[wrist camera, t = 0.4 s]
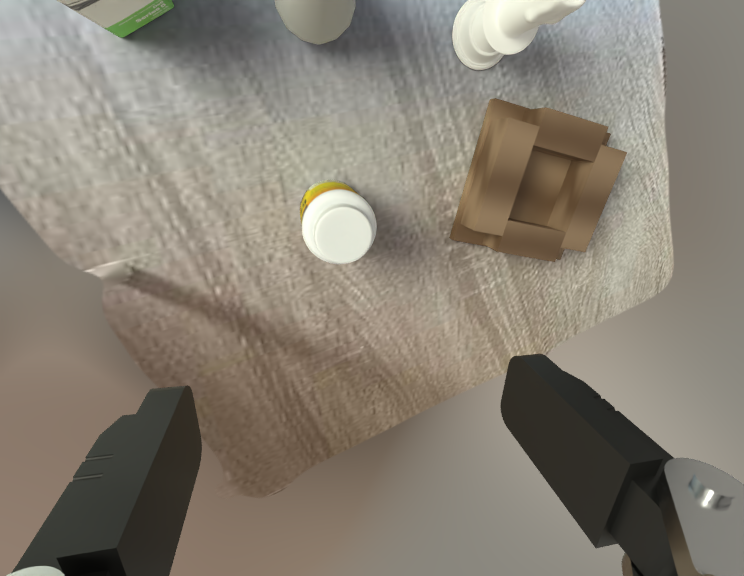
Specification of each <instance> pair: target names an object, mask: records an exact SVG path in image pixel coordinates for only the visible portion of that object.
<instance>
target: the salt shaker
mask: <svg viewBox="0 0 744 576" xmlns="http://www.w3.org/2000/svg"><path fill="white" fill-rule="evenodd" d="M275 6H276V9H277V11H278V13H279V14H280V16H281V18H282V20H283V22H284V24H285V25H286V27H287V29H289V30H290V31H291V32H292V33H294V34H295V35H296V36H297V37H298V38H300V39H301V40H302V41H306V42H310V43H314V44H318V45H321V44H324V43H327V42H330V41H333V40H336V39H337V38H338V37H339V36H340V35H341V34H342V33H343V32H344V31H345V30H346V29H347V28H348V27H349V26H350V23H351V20H352V17H353V13H354V10H355V7H356V3H355V0H275Z"/></svg>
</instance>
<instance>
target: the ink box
mask: <svg viewBox="0 0 744 576" xmlns="http://www.w3.org/2000/svg"><path fill="white" fill-rule="evenodd" d="M57 1H59V2H61V3H62V4H64V5H66V6H68V7H69V8H71V9H72V10H74V11H76V12H77V13H79V14H81V15H83V16H84V17H86V18H88V19H89V20H91V21H93V22H95V23H96V24H98V25H100V26H101V27H103V28H105V29H106V30H108V31H110V32H111V33H113V34H115V35H116V36H118V37H121V38H122V37H125V36H127V35H128V34H130V33H132V32H134V31H135V30H137V29H139V28H140V27H142V26H144V25H145V24H147V23H149V22H151V21H152V20H154V19H155V18H157V17H159V16H161V15H162V14H164V13H165V12H167V11H169V10H170V9H172V8H173V7H174V4H173V2H172V0H57Z"/></svg>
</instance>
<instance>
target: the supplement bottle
mask: <svg viewBox="0 0 744 576" xmlns="http://www.w3.org/2000/svg"><path fill="white" fill-rule="evenodd" d="M300 217H301V226H302V234H303V238H304V240H305V243H306V245H307V247H308V248H309V249H310V251H311V252H312V253H313V254H314V255H315V256H317V257H318V258H319V259H321V260H323V261H325V262H328V263H332V264H346V263H351V262H354V261H356V260H358V259H360V258H361V257H362V256H363V255H364V254H365V253H366V252H367V251H368V250H369V249H370V247H371V245H372V244H373V241H374V239H375V236H376V229H377V224H376V218H375V215H374V212H373V210H372V208H371V206H370V205H369V204H368V202H367V201H366V200H365V199H364V198H362V197H361V196H360V195H359V194H358V193H356V192H355V191H354V190H353V189H351V188H350V187H349V186H348V185H346V184H345V183H343V182H340V181H336V180H323V181H320V182H317V183H315V184H314V185H312V186H311V187H310V188H309V189H308V190H307V191H306V192H305V194H304V196H303V198H302V201H301V204H300Z"/></svg>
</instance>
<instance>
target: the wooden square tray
mask: <svg viewBox="0 0 744 576" xmlns="http://www.w3.org/2000/svg"><path fill="white" fill-rule="evenodd" d="M607 129H608V127H607V126H604V125H601V124H598V123H594V122H591V121H588V120H585V119H582V118H578V117H575V116H572V115H569V114H566V113H563V112H559V111H556V110H553V109H550V108H547V107H546V108H538V109H528V108H525V107H522V106H519V105H515V104H512V103H509V102H506V101H502V100H499V99H496V98H495V99H490V101H489V105H488V108H487V112H486V115H485V118H484V122H483V125H482V129H481V132H480V135H479V139H478V142H477V146H476V149H475V152H474V156H473V159H472V163H471V166H470V170H469V173H468V176H467V180H466V183H465V187H464V190H463V193H462V197H461V200H460V204H459V207H458V211H457V214H456V217H455V221H454V224H453V228H452V231H451V234H450V238H451V239H452V240H455V241H461V242H466V243H472V244H477V245H482V246H488V247H490V248H492V249H493V250H495V251H497V252H503V253H508V254H514V255H519V256H525V257H530V258H536V259H541V260H547V261H552V262H555V260H556V259H559V260H560V259H561V256H562V254H563V251H564V249H565V248H566V249H571V250H576V251H581V252H585V251H586V249H587V246H588V244H589V242H590V239H591V237H592V235H593V232H594V230H595V227H596V225H597V223H598V220H599V218H600V216H601V213H602V211H603V208H604V206H605V204H606V201H607V199H608V197H609V194H610V192H611V190H612V187H613V185H614V182H615V180H616V178H617V175H618V173H619V171H620V168H621V166H622V164H623V161H624V159H625V156H626V154H627V152H624V151H621V150H617V149H614V148H611V147H607V146H606V145H607V142H608V140H609V137H610V135H611V134H610V133H606V132H607Z"/></svg>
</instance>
